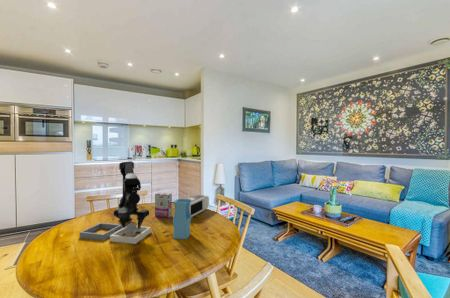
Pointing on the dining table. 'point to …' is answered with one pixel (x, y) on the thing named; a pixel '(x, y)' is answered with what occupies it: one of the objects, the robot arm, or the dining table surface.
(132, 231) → the grey rounded lumpy piece
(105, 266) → the dining table surface
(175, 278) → the dining table surface
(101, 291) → the dining table surface
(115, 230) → the grey square frame
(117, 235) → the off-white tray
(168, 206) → the candy bar box
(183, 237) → the vase
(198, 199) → the alarm clock
